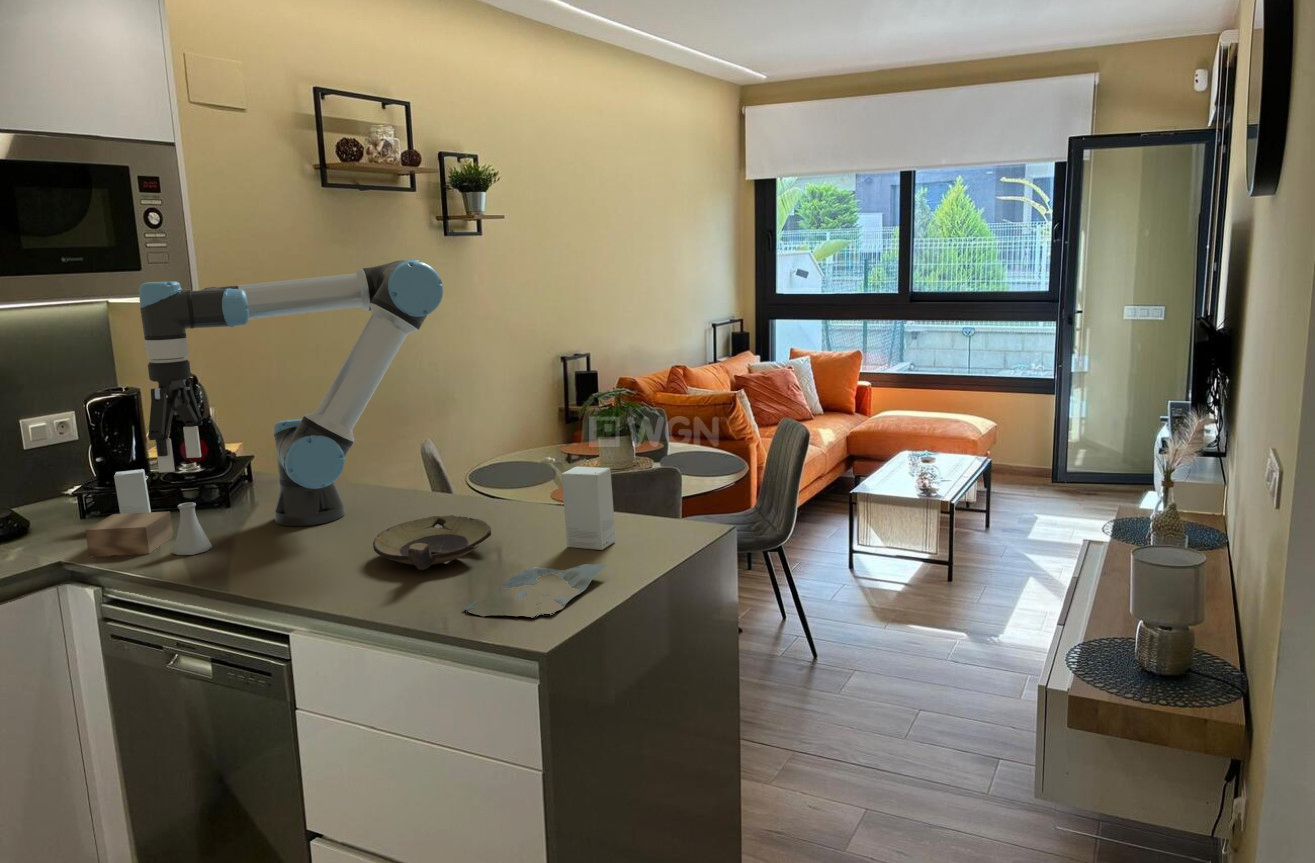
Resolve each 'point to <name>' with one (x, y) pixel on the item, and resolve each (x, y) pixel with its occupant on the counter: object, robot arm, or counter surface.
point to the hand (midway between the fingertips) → (181, 464)
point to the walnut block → (129, 534)
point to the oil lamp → (431, 540)
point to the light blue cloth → (574, 576)
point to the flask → (190, 533)
